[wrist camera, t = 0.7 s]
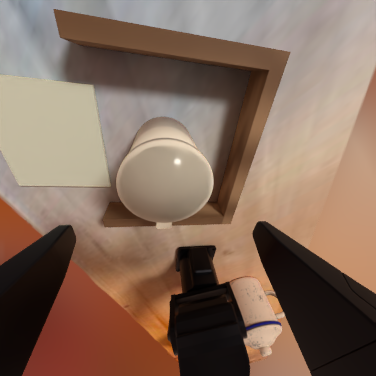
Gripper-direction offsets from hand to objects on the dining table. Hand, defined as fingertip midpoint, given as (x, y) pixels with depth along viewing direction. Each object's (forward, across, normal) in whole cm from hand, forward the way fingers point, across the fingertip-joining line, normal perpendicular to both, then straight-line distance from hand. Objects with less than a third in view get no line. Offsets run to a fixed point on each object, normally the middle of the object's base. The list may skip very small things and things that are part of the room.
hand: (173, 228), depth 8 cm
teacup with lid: (+12, -20, +32) cm, 39 cm away
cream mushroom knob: (+12, 0, +1) cm, 12 cm away
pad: (+12, +11, 0) cm, 16 cm away
